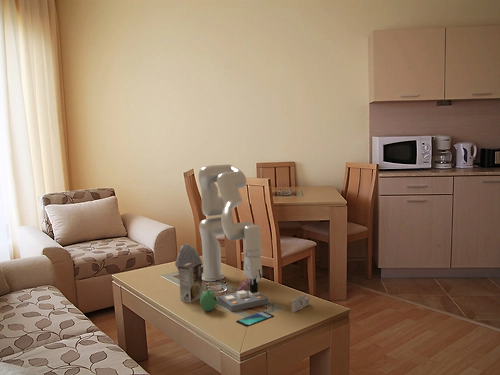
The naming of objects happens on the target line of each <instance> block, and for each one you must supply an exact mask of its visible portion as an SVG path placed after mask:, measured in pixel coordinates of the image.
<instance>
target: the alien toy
mask: <svg viewBox="0 0 500 375" xmlns="http://www.w3.org/2000/svg"><path fill="white" fill-rule="evenodd" d="M209 288H210V286H205V289H206V291H203V294H202V295H201V297H200V298H199V304H200V307H201V308H202V309H203V310H204V311H206V312H210V311H213V310H214V309H215V307H216V305H217V304H218V303H219V302H218V298H217V296H216V294H215V292H213V291H211V290H210V289H209Z"/></svg>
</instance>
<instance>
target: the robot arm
mask: <svg viewBox="0 0 500 375" xmlns="http://www.w3.org/2000/svg"><path fill="white" fill-rule="evenodd" d="M198 182H199V186H200V192H201V195H200V196H201V211H202V214H203V216H206V217H209V218H205V219H202V220H200V222H199V226H198V229H199V233H200V239H201V250H202V251H201V253H202V254H201V256H202V258H201V259H202V263H203V264H202V282H217V281H216V280H219V281H221V280H223V279H225V274H224V273H222V258H221V257H222V255H221V254H222V252H221V244H220V241H219V240H218V239H217V237H219V236H223V235H225V238H226V239H227V240H229V241H231V242H232V241H238V240H243V252H244V254H243V256H244V257H243V275H244V276H245V277H246V278H247V279H249V283H250V284H249V290H250V292H251V293H256V292H259V286H258V285H259V283H261V279H262V278H263V266H262V265H263V264H262V244H261V243H262V241H261V240H262V236H261V234H262V233H261V226H259V225H258V224H254V223H252V222H250V221H242V222H235V223H233V209H235V208H237V207H238V206H239V205H241V203H242V202H243V201H242V200H243V199H242V197H241V196H242V195H241V193H240V191H239V189H244V188H245V187H246V185H247V178H246V175H245V173H244V172H243V171H242V170H240V169H239V168H237V167H236V166H234V165H232V164H213V165H212V164H211V165H205V166H203V167H201V168H200V169H199V172H198ZM216 183H217V185H216ZM219 193H220V196H219ZM212 216H214V217H212ZM215 216H217V217H215Z"/></svg>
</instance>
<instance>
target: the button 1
mask: <svg viewBox="0 0 500 375" xmlns="http://www.w3.org/2000/svg"><path fill="white" fill-rule="evenodd" d="M224 299H225V300H226V301H231V300H235V297H234V296H232V295H230V296H225V297H224Z"/></svg>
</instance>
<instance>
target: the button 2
mask: <svg viewBox="0 0 500 375" xmlns="http://www.w3.org/2000/svg"><path fill="white" fill-rule="evenodd" d="M248 293H249V295H251V296H255V295H259V293H260V291H258V292H256V293H251V292H248Z"/></svg>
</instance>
